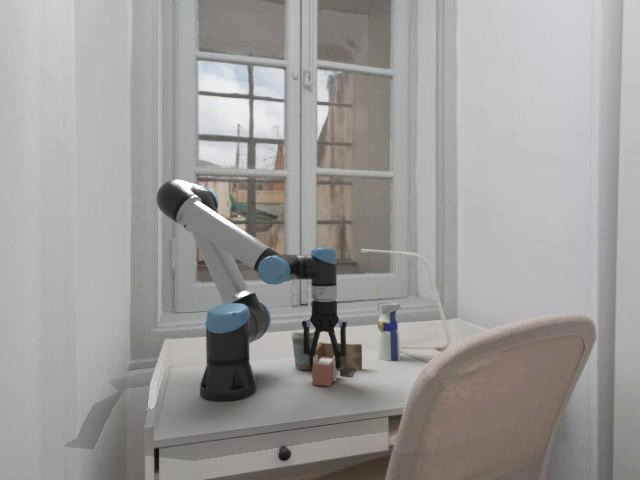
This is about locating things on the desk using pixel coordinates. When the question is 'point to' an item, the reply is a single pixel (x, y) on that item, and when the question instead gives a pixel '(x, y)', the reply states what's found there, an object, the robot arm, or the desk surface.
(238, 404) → the desk surface
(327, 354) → the shelf
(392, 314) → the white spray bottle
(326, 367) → the red box
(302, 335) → the coffee cup
